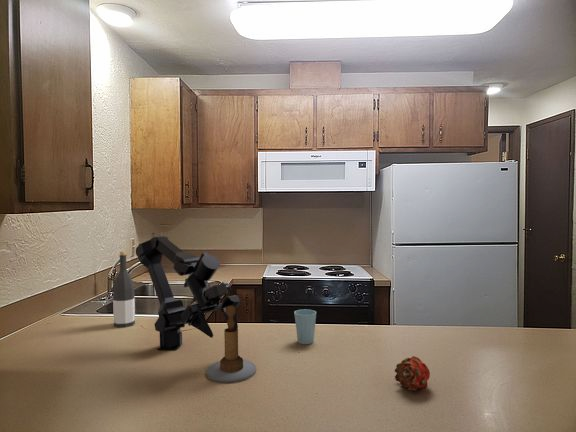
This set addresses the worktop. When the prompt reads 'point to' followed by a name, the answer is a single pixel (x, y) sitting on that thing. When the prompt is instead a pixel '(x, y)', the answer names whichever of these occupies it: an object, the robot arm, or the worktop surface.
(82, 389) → the worktop surface
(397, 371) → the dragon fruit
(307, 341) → the cup
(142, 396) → the worktop surface
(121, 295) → the wine bottle
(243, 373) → the mat
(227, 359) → the wooden pepper mill
